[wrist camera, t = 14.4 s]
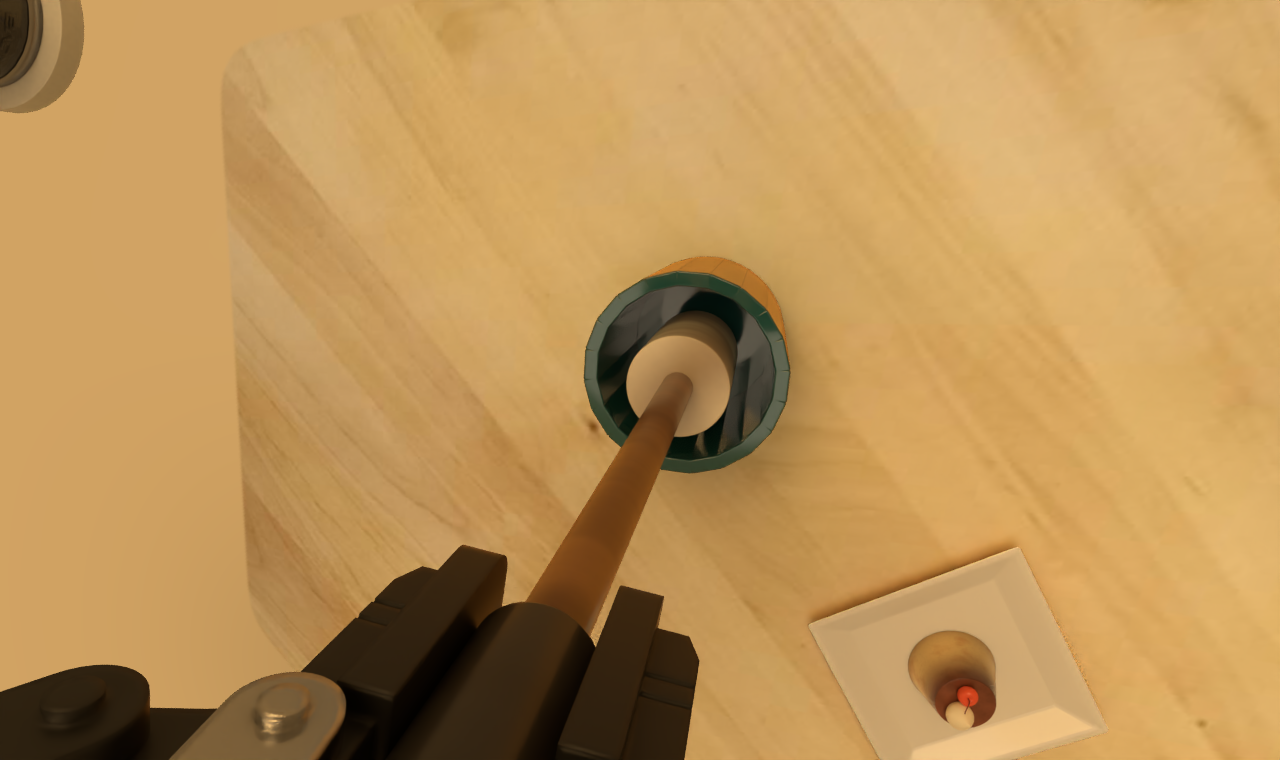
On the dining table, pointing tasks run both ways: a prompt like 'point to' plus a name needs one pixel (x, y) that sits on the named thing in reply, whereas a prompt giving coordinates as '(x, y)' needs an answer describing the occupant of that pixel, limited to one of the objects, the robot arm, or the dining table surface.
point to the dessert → (961, 667)
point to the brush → (574, 570)
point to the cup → (757, 367)
